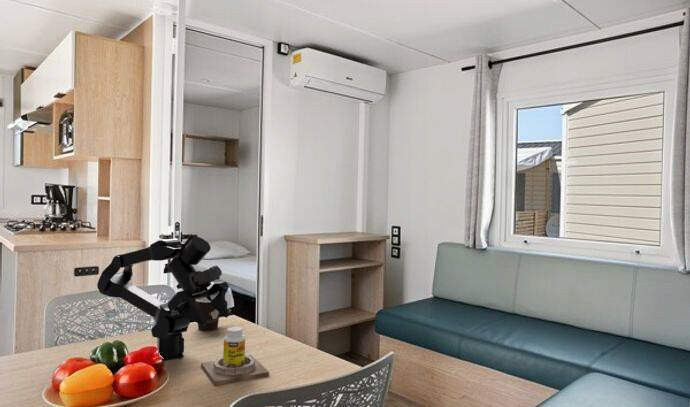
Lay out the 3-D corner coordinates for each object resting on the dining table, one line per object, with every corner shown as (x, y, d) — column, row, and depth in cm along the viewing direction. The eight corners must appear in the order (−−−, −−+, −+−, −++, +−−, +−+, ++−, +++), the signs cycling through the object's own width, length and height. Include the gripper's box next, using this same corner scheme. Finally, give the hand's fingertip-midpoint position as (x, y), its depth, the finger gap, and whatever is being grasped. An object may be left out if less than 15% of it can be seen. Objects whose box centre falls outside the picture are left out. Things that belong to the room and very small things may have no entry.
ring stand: (214, 385, 114) (215, 375, 114) (201, 366, 126) (201, 357, 126) (269, 375, 121) (269, 366, 121) (250, 358, 133) (251, 349, 133)
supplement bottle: (225, 372, 120) (226, 332, 119) (221, 364, 125) (222, 326, 124) (246, 369, 122) (247, 330, 122) (241, 362, 127) (242, 324, 127)
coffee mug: (197, 333, 155) (198, 303, 154) (192, 326, 162) (193, 297, 162) (232, 329, 160) (232, 300, 160) (226, 322, 168) (227, 294, 167)
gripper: (176, 261, 119) (209, 310, 115) (225, 253, 136) (255, 295, 132) (153, 288, 123) (184, 336, 118) (203, 277, 140) (232, 319, 135)
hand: (216, 320), depth 126 cm, fingers open, 9 cm apart
